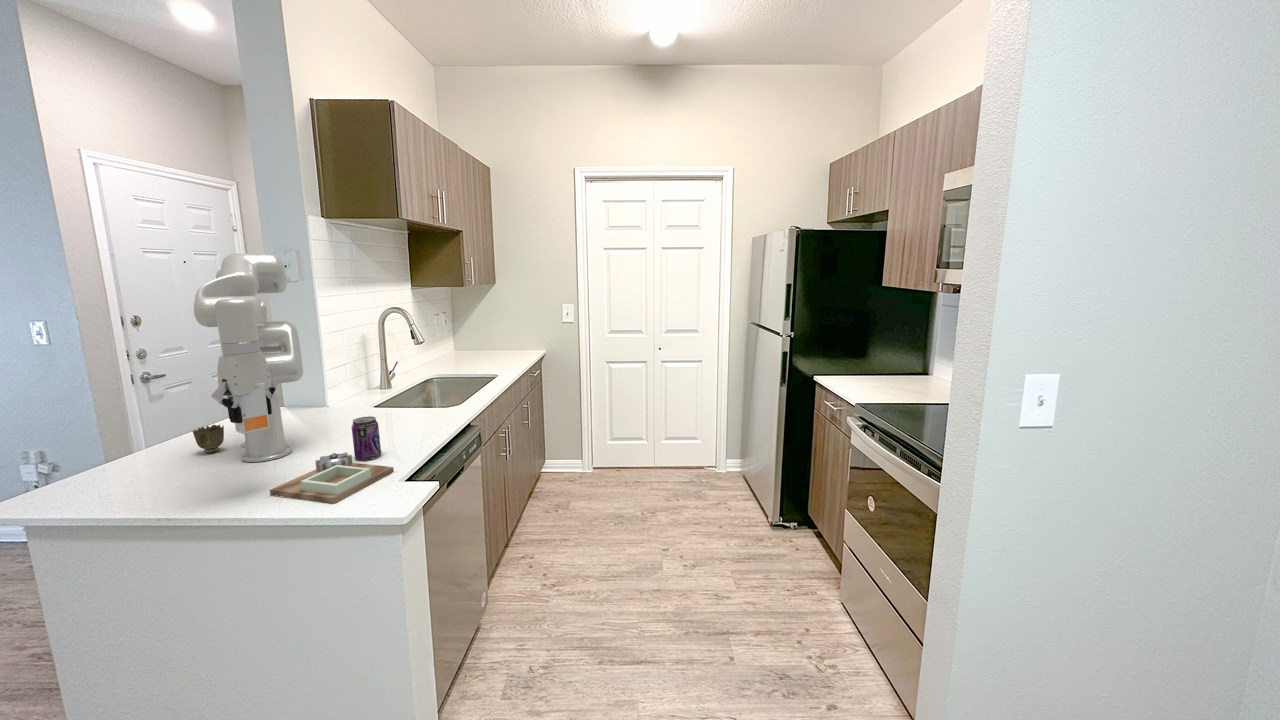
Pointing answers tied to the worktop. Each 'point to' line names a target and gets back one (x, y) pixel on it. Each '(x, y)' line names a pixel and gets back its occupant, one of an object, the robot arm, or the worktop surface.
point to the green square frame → (320, 486)
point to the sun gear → (333, 461)
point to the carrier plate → (294, 485)
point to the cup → (209, 438)
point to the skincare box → (253, 411)
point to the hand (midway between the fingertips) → (251, 417)
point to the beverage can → (366, 438)
